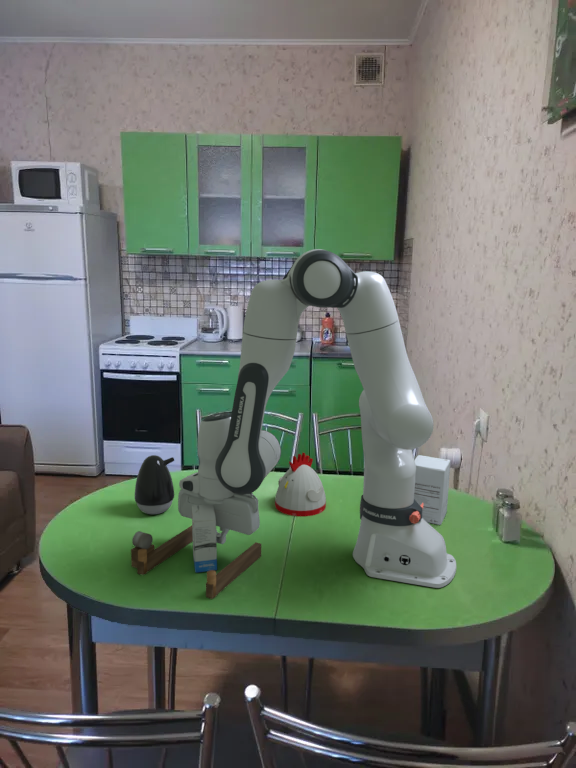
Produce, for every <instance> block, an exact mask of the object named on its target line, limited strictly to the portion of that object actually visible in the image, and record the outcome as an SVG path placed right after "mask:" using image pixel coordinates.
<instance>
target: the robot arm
mask: <svg viewBox="0 0 576 768" xmlns="http://www.w3.org/2000/svg"><path fill="white" fill-rule="evenodd" d="M308 307H314V308H330V309H331V308H332V309H333V308H334V309H337V310H338V311H339V313H340V316H341V318H342V322H343V326H344V329H345V330H344V331H345V334H346V339H347V343H348V347H349V351H350V355H351V359H352V363H353V365H354V366H353V367H354V370H355V371H356V374H357V376H358V379H359V381H360V384H361V385H362V389H363V390H362V391H361V393H360V395H359V399H358V406H359V407H358V408H359V412H360V414H359V415H360V427H361V428H360V429H361V430H360V431H361V439H362V440H361V441H362V449H363V461H364V462H363V464H364V465H363V484H362V485H363V488H362V491H363V492H362V495H361V496H360V500H359V501H360V502H359V519H360V524H359V531H358V535H357V539H356V542H355V543H356V544H355V546H354V548H353V551H352V558H353V560H355V562H356V563H357V564H358V565H359V566H361V567H362V568H363V569H364V573H366V575H367V577H368V576H369V577H371V578H377V579H381V580H387V581H394V582H399V583H405V584H411V585H416V586H417V585H418V586H423V587H430V588H434V589H435V588H436V589H440V588H443V587H445V586H447V585H448V584H450V583H451V582H452V581H453V579H454V577H455V575H456V573H457V561H456V558H455V557H454V556H453V555H452V554H450V553H448V552H447V546H446V541H445V539H444V537H443V535H442V534H441V533H439V531H438V530H437V529H435V528H434V527H433V526H432V525H431V524H430V523H428V522H426V521H425V520H424V519H423V518H422V511H423V503H422V504H421V505H419V504H418V503H417V502H416V501H415V499H414V490H415V475H416V464H415V461H414V460H415V458H414V454H413V453H414V452H413V450H415V449H418V448H420V447H422V446H424V445H425V444H426V443H427V442H428V441H429V440H430V438H431V436H432V434H433V430H434V418H433V416H432V414H431V412H430V410H429V408H428V406H427V404H426V401H425V399H424V396H423V393H422V390H421V386H420V385H419V382H418V380H417V377H416V375H415V372H414V370H413V368H412V365H411V362H410V359H409V356H408V353H407V349H406V343H405V340H404V336H403V332H402V328H401V324H400V319H399V315H398V311H397V307H396V304H395V302H394V299H393V296H392V293H391V291H390V288H389V286H388V284H387V282H386V279H385V278H384V277H383V276H382V275H381V274H379V273H378V272H375V271H368V270H367V271H365V270H364V271H359V272H355V271H354V270H353V269H352V268H351V267H350V266H349V265H348V264H347V263H346V262H345V261H344V260H343V259H342V258H341V257H340V256H339V255H338V254H336V253H334V252H332V251H330V250H326V249H321V248H318V249H317V248H314V249H310V250H308V251H305V252H303V253H302V254H300V255H299V256H298V257H297V258H296V259H295V261H294V263H292V265H291V267H290V268H289V270H288V271H287V272H286V273H285V275H284V277H282V279H274V278H273V279H265V280H262V281H260V282H258V283H257V284H255V285H254V287H252V290H251V294H250V297H249V300H248V303H247V307H246V311H245V316H244V321H243V322H244V323H243V328H242V337H241V338H242V339H241V349H240V359H239V361H240V362H239V367H238V375H237V382H236V387H235V391H234V398H233V404H232V410H231V412H225V411H222V412H218V413H217V412H216V413H214V414H210V415H208V416H206V417H204V418H203V419H202V420H201V422H200V424H199V428H198V435H197V456H198V459H199V465H198V468H197V469H198V470H197V472H194V473H192V474H190V475H187V476H186V477H183V478H181V479H180V480H179V483H178V486H179V489H180V490H179V492H178V495H177V496H178V497H177V508H178V509H177V510H178V513H179V514H180V516H181V517H183V518H187V519H191V520H192V506H193V505H213V506H214V512H215V517H216V527H219V531H221V532H219V531H218V530H217V529H216V544H220V545H224V544H225V543H226V542H227V535H228V533H229V531H233V532H236V533H240V534H245V535H246V536H250V535H253V534H254V533H255V532H256V531H258V530H259V529H260V525H261V524H260V523H261V521H260V510H259V499H258V498H257V496H256V495H254V492H256V491H257V490H258V489H259V488H260V486H261V485H262V483H263V481H264V480H265V479H266V477H268V475H269V474H270V473H271V472H272V470H273V469H274V467H276V466H277V464H278V463H279V462H280V459H281V456H282V447H281V443H280V442H279V440H278V438H277V437H276V436H275V435H274V434H273V432H270V431H267V430H264V429H263V424H264V419H265V411H266V408H267V407H266V406H267V404H268V401H269V399H270V396H271V395H272V393H273V391H274V389H275V388H276V386H278V384H279V382H280V381H282V379H283V377H285V375H286V374H287V373H288V372H289V370H290V368H291V364H292V363H293V362H292V361H293V358H294V354H295V350H296V345H297V336H298V327H299V322H300V319H301V315H302V314H303V312H304V311H305V310H306V309H308Z"/></svg>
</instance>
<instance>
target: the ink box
mask: <svg viewBox="0 0 576 768" xmlns="http://www.w3.org/2000/svg"><path fill="white" fill-rule="evenodd" d="M191 526H192V536H193V542H192V555H193V563H194V564H193V566H194V572H195V574H197V573H203V572H204V573H205V572H208V571H209V570H214V571H217V570H218V553H217V552H218V551H217V546H218V545H217V544H218V543H216V530H217V526H216V517H215V512H214V506H213V505H193V506H192V519H191Z"/></svg>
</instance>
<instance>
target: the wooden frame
mask: <svg viewBox="0 0 576 768" xmlns="http://www.w3.org/2000/svg"><path fill="white" fill-rule="evenodd" d="M153 540H154V538H153V535H152V534H150V533H147V532H143V531H141V530H140V531H139V530H138V531H137V532H135V534H133V537H132V541H131V542H132V546H134V547H133V548H131V549H130V559H131V561H130V562H131V568H134V569H136V572H137V574H138V575H141V576H144V575H147V574H148V573H149V572H150V571H152V570H153V569H155V568H156V567H157V566H159V565H160V564H162V563H163V562H164V561H166V560H168V559H169V558H171V557H172V556H174V555H175V554H177V553H178V552H179V551H181V550H183V549H184V548H186V547H187V546H188V545H189V544H191V543H193V536H192V525H190V526H188V527H187V528H186V529H184V530H182V531H181V532H179V533H178V534H176V535H174V536H173V537H171V538H169V539H168V540H167V541H165V542H164V543H162V544H160V545H158V546H157V547H156V548H155V544H153ZM261 557H262V543H260V542H257V541H256V542H254V543H253V544H252V545H251V546H249V547H248V548H247V549H245V550H244V551H243V552H242V553H240V554H239V555H237V557H236V558H234V559H233V560H232V561H231V562H229V563H228V564H227V565H226V566H224V568H222V569H221V570H220V571H219V572H217V570H209V571H206V582H205V598H207V599H210V600H213V599H215V598H216V597H217V596H218V594H220V593H221V592H222V591H224V589H226V588H227V587H228V586H229V585H230V584H232V583H233V581H235V580H236V579H237V578H238V577H239V576H240V575H241V574H243V572H245V571H246V570H247V569H249V567H251V566H252V565H253V564H254V563H256V562H257V561H258V560H259V559H260V558H261ZM225 587H226V588H225Z"/></svg>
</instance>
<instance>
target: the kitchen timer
mask: <svg viewBox="0 0 576 768" xmlns="http://www.w3.org/2000/svg"><path fill="white" fill-rule="evenodd" d="M313 460H314V458H312V457H310V456H309V455H308V454H306V453H305V452H302V453H298V454H297V456H295V455H293V456H292V462H291V461H288V464H289V466H290V468H289V469H287V471H286V472H285V473H284V474H283V475H282V476H280V477H279V478H278V481H277V482H278V487H277V490H276V493H275V497H274V507H275V509H276V510H277V511H278V512H279V513H280V512H281V513H282V514H285V515H287V516H292V517H312V516H316V515H319V514H321V513H323V512H324V511H325V510H326V508H327V498H326V492H325V488H324V486H323V482H322V480H321V478H320V477H319V475H318V474H317V472H316V471H315V470H314V469H313V468H312V464H313Z"/></svg>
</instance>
